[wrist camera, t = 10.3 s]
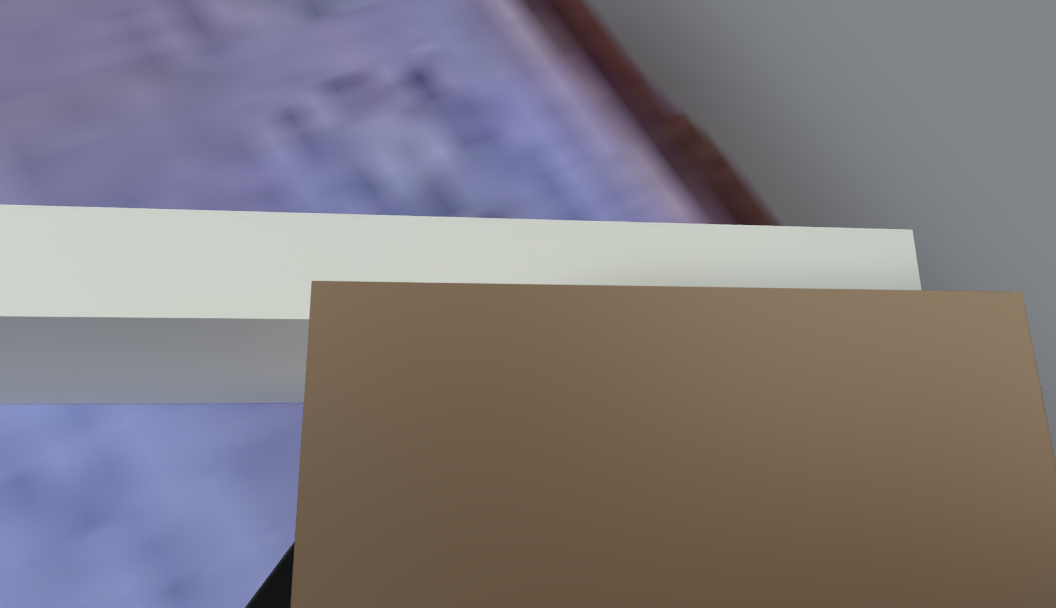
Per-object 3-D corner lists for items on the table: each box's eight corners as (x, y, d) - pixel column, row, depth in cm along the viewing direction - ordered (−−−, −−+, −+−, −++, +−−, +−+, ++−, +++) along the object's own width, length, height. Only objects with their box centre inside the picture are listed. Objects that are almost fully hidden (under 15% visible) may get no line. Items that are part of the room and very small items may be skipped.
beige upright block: (637, 674, 14) (1241, 1423, 3) (408, 686, 13) (222, 1646, 3) (624, 400, 15) (1021, 291, 5) (415, 401, 15) (312, 280, 4)
